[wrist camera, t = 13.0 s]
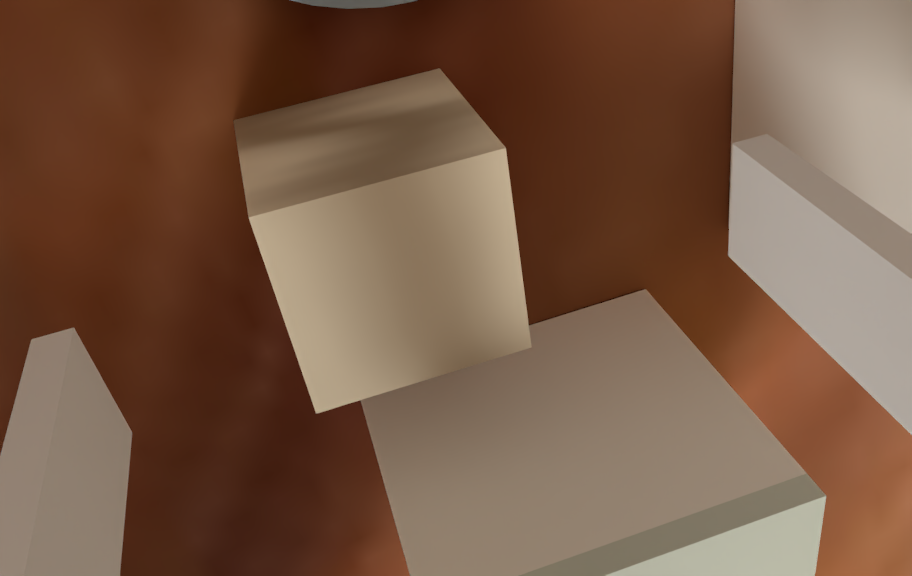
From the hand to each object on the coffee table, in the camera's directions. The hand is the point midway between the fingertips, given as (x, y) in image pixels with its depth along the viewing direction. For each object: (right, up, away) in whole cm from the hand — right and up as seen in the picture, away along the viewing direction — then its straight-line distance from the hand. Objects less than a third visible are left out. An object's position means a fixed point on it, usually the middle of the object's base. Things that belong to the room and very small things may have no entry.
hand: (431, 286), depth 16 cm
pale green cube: (+3, -5, +11) cm, 12 cm away
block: (-2, +3, +5) cm, 6 cm away
